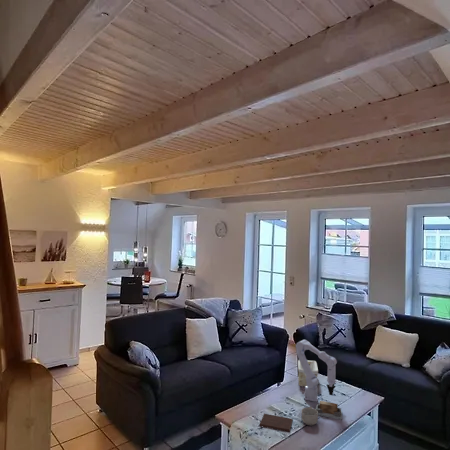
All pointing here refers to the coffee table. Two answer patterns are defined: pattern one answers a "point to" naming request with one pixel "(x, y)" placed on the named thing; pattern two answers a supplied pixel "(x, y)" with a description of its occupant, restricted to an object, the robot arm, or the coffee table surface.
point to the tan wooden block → (328, 407)
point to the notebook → (276, 422)
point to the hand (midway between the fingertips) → (331, 392)
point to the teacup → (309, 416)
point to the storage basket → (302, 374)
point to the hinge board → (336, 414)
